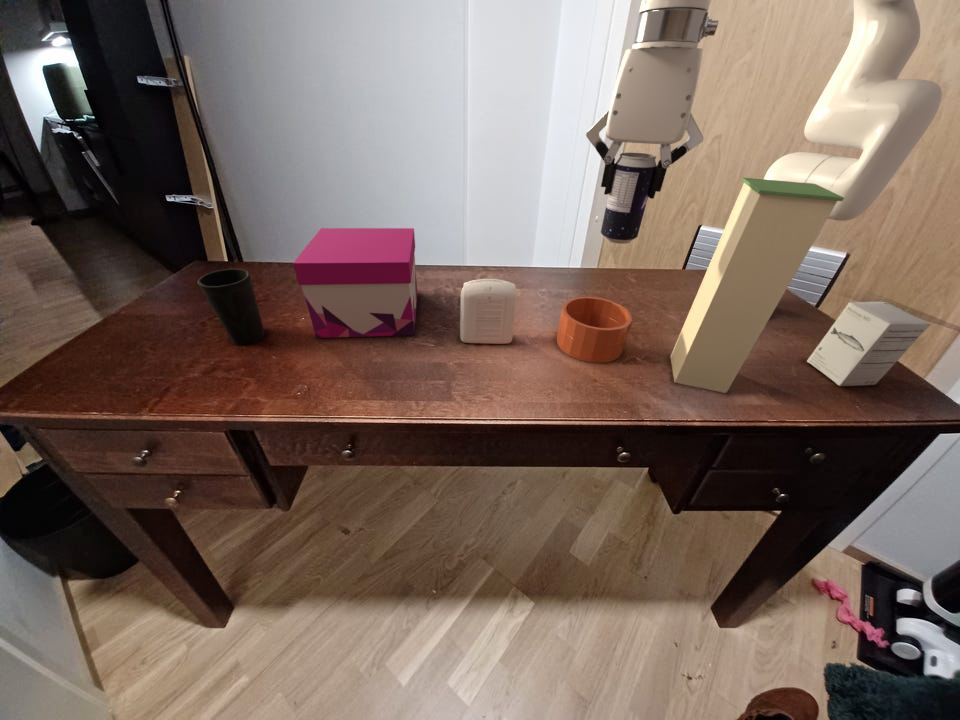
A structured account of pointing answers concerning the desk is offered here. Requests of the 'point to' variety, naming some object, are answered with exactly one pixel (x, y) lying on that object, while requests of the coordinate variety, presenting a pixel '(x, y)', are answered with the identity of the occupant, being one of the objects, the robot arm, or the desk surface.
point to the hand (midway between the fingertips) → (628, 193)
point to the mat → (791, 189)
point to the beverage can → (628, 197)
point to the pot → (593, 329)
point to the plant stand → (744, 284)
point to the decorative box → (360, 281)
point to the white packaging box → (866, 342)
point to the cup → (234, 304)
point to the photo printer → (487, 311)
